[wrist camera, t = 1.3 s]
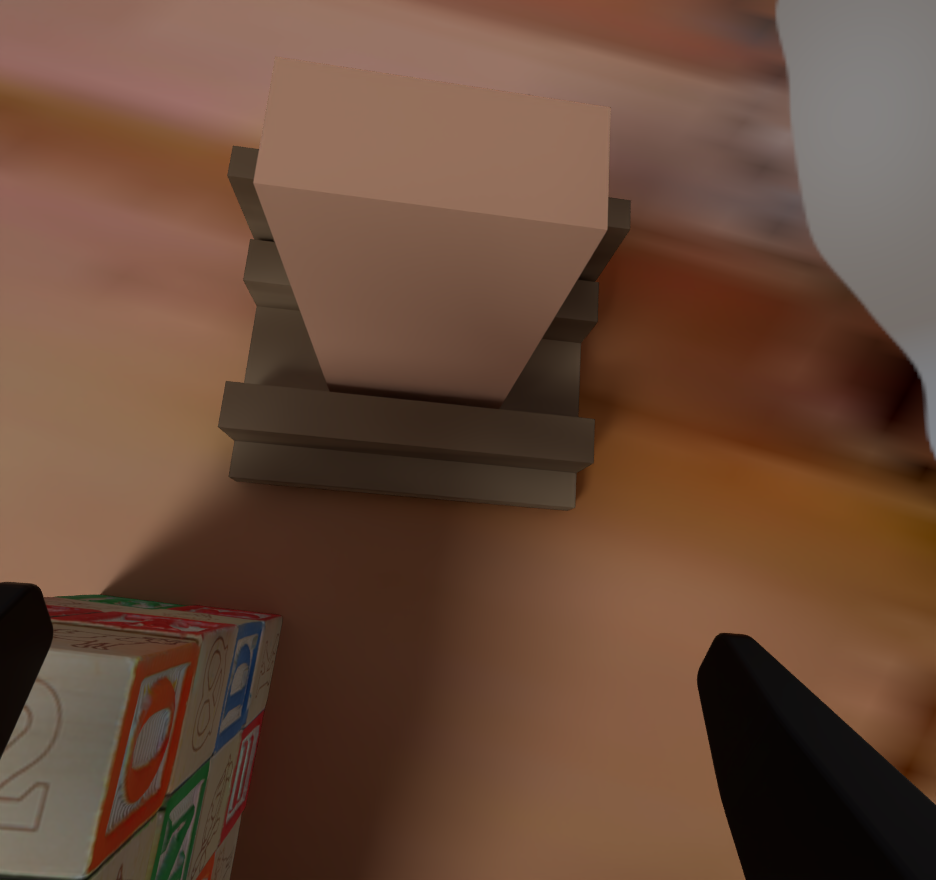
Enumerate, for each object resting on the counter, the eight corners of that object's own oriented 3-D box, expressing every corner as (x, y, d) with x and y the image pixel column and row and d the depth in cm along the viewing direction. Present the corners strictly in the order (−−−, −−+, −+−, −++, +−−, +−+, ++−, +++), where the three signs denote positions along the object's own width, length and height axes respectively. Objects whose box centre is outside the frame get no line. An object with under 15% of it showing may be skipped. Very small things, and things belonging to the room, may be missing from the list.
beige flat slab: (497, 411, 22) (607, 229, 11) (330, 394, 22) (253, 182, 10) (502, 346, 23) (610, 107, 11) (339, 328, 22) (275, 56, 11)
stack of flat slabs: (567, 510, 23) (625, 487, 17) (236, 481, 22) (176, 446, 16) (576, 288, 25) (630, 200, 19) (273, 251, 24) (232, 145, 18)
